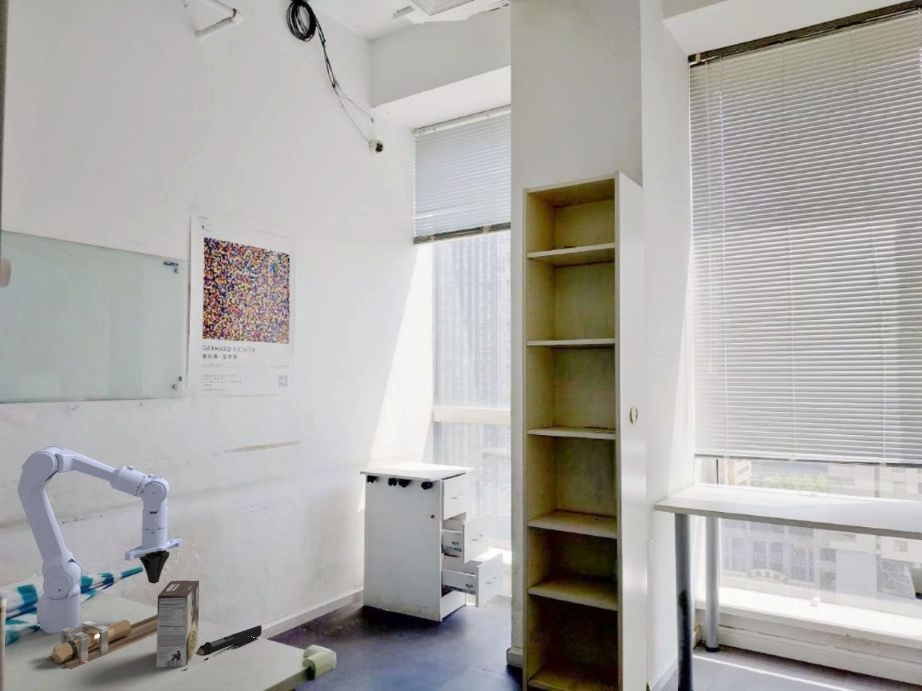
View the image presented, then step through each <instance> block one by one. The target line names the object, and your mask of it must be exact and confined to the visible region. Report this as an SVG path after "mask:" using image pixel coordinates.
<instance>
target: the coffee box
mask: <svg viewBox="0 0 922 691" xmlns="http://www.w3.org/2000/svg"><path fill="white" fill-rule="evenodd" d="M199 593H200V580H170V581H169V582H168V583H167V584H166V586H165V587H164V588H163V589H162V590H161V591H160V592H159V594H158V595H157V612H156V613H157V614H156V615H157V634H156V657H155V658H156V660H155V661H156V664H155V666H156V668H177V667H185V668H184V669H182V670H181V672H185V671H187V670H188V668H189V667H188V665H189V663H190V662H191V660H192V659H193V657H194V656H195V654H196V652H197V650H198V649H199V617H200V616H199V609H200V605H199V601H200V600H199V599H200V595H199Z"/></svg>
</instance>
